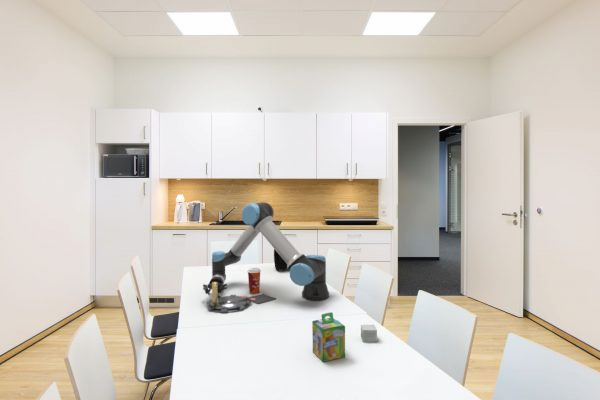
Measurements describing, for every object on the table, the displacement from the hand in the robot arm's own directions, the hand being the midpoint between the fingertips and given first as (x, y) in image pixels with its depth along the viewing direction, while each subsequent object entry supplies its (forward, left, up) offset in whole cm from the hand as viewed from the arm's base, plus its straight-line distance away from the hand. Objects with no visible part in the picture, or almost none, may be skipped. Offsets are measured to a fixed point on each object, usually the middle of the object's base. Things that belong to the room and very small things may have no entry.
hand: (210, 295), depth 174 cm
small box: (-73, -30, -8) cm, 80 cm away
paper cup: (+10, -32, -8) cm, 35 cm away
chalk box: (-71, -9, -8) cm, 73 cm away
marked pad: (-2, -28, -7) cm, 30 cm away
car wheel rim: (+43, -80, -8) cm, 91 cm away
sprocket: (+1, -10, -7) cm, 13 cm away
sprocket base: (+1, -10, -7) cm, 13 cm away
